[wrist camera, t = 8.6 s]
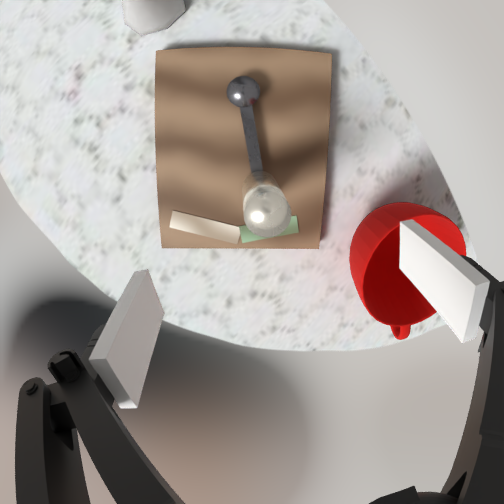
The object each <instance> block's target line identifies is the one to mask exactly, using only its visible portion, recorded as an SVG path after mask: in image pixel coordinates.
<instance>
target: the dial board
mask: <svg viewBox="0 0 504 504" xmlns="http://www.w3.org/2000/svg"><path fill="white" fill-rule="evenodd" d="M331 69H332V54H329V53H322V52H313V51H304V50H293V49H280V48H262V47H199V48H181V49H169V50H158V51H156V66H155V146H156V173H157V192H158V207H159V221H160V233H161V244H162V248H270V249H319V243H320V234H321V224H322V215H323V204H324V193H325V181H326V169H327V155H328V140H329V122H330V101H331ZM239 76H248V77H251V78H253V79H254V80H255V81H256V82H257V83H258V85H259V87H260V96H259V98H258V100H257V101H256V102H255V103H254V104H253V105H252V108H253V114H254V120H255V126H256V132H257V138H258V143H259V149H260V155H261V162H262V168H263V171H264V172H267V173H269V174H271V175H272V176H273V177H274V178H275V180H276V182H277V184H278V185H279V187H280V189H281V191H282V193H283V194H284V196H285V198H286V200H287V202H288V203H289V205H290V208H291V220H290V223H289V225H288V227H287V228H286V229H285V230H284V231H283V232H282V233H280V234H279V235H277V236H274V237H261V236H258V235H255V234H254V233H252V232H251V231H250V230H249V229H248V227H247V226H246V224H245V221H244V211H243V195H242V185H243V182H244V180H245V178H246V177H247V176H248V175H249V174H251V169H250V163H249V158H248V152H247V146H246V140H245V135H244V129H243V123H242V118H241V112H240V107H237V106H235V105H233V104H232V103H231V102H230V101H229V99H228V97H227V87H228V84H229V83H230V82H231V81H232V80H233V79H234V78H236V77H239Z"/></svg>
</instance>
